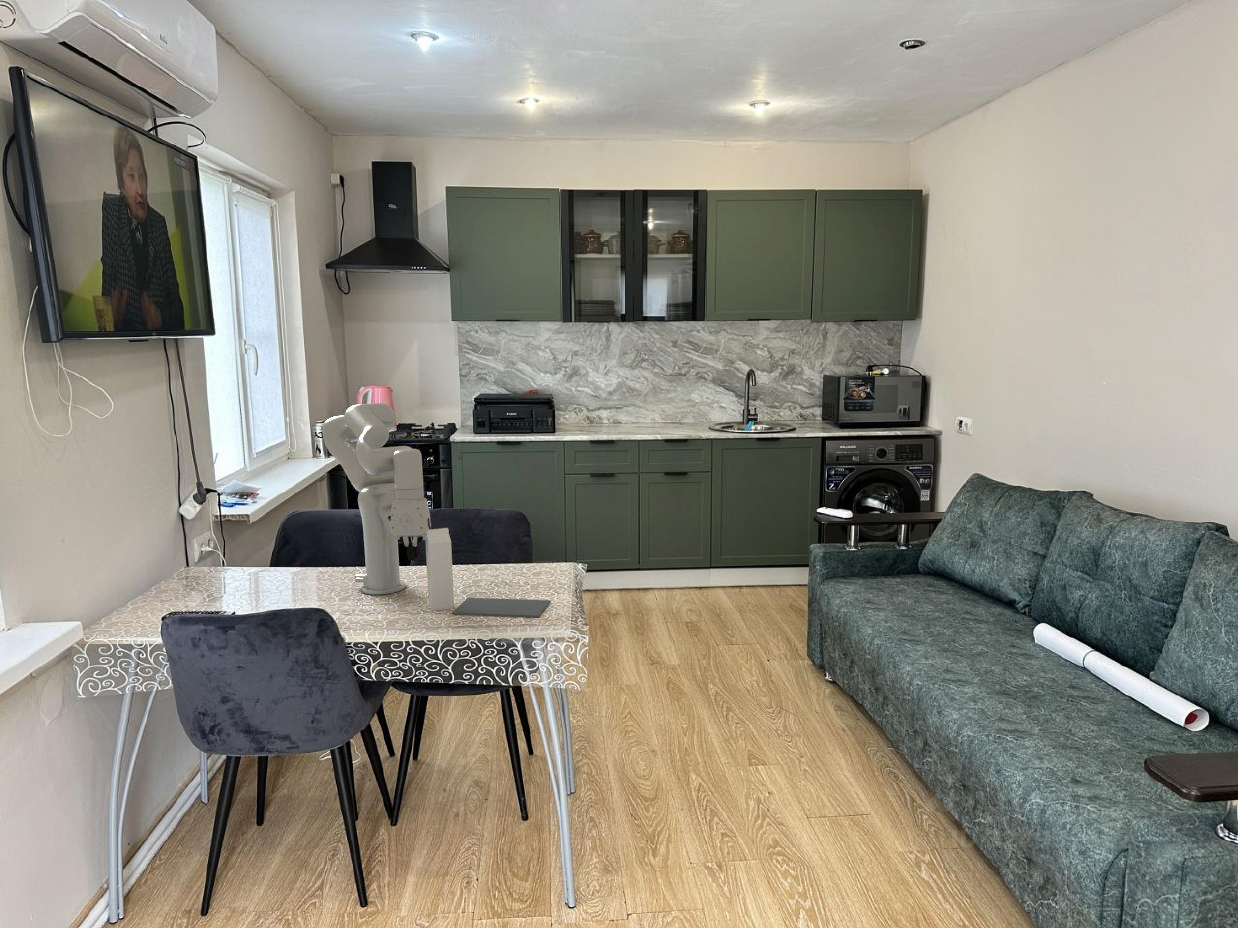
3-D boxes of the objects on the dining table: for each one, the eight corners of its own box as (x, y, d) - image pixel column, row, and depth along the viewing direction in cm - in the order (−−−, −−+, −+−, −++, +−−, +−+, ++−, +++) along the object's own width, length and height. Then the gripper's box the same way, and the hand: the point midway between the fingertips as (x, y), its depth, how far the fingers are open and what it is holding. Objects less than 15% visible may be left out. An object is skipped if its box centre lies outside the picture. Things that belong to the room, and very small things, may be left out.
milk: (454, 608, 216) (451, 530, 213) (432, 611, 214) (428, 532, 210) (449, 601, 221) (446, 525, 218) (428, 604, 219) (424, 527, 216)
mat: (452, 614, 210) (451, 612, 210) (468, 599, 223) (468, 597, 223) (538, 617, 207) (538, 615, 207) (550, 602, 219) (550, 600, 219)
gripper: (377, 496, 212) (382, 562, 214) (430, 496, 209) (433, 563, 212) (390, 491, 219) (394, 555, 221) (440, 492, 217) (444, 556, 219)
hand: (413, 559), depth 216 cm, fingers closed
